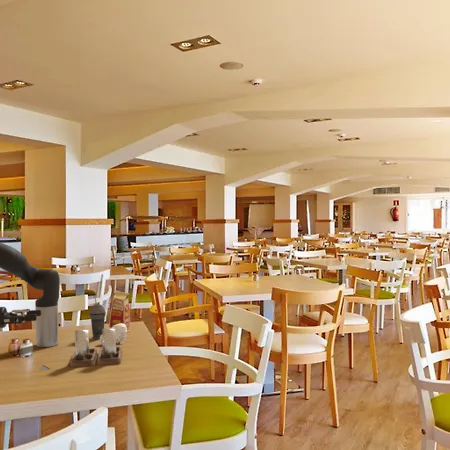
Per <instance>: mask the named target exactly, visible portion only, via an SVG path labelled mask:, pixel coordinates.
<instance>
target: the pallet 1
mask: <svg viewBox="0 0 450 450" xmlns="http://www.w3.org/2000/svg"><path fill="white" fill-rule="evenodd" d="M89 353H90V360H76V357H75V351H73V355H72V356H71V358H70V361H69V368H78V367H90V366H91V367H92V366H95V365H96V364H95V363H96V360H97V358H98V355H99V352H98V347H96V348H89Z"/></svg>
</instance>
